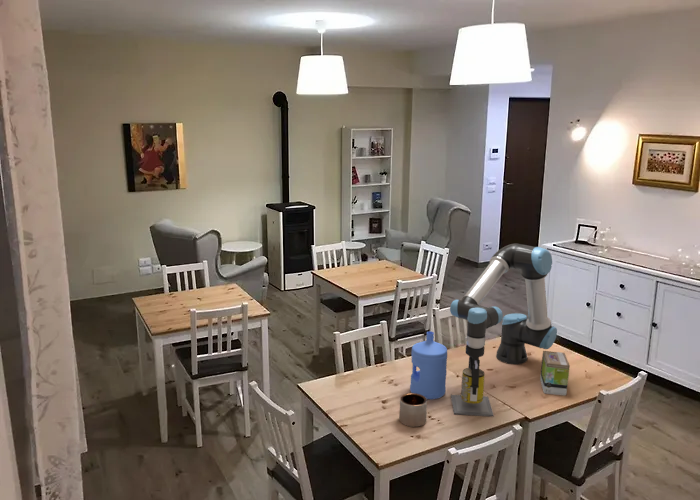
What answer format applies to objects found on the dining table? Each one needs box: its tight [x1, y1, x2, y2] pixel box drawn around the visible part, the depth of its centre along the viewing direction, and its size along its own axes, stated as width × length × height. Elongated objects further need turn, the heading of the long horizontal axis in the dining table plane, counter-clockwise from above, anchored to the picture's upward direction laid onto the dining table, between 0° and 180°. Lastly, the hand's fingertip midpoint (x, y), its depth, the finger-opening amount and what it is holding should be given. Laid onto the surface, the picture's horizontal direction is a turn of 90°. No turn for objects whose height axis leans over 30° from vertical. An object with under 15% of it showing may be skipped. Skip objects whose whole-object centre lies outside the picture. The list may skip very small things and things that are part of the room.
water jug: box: [409, 331, 448, 400], centre depth 254 cm, size 16×16×28 cm
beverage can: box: [460, 367, 486, 404], centre depth 243 cm, size 9×9×12 cm
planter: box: [398, 392, 428, 428], centre depth 232 cm, size 11×11×10 cm
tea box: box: [539, 350, 571, 397], centre depth 262 cm, size 15×10×15 cm
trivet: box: [450, 394, 495, 417], centre depth 245 cm, size 16×16×1 cm
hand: (472, 395), depth 244 cm, fingers closed on beverage can, 9 cm apart
